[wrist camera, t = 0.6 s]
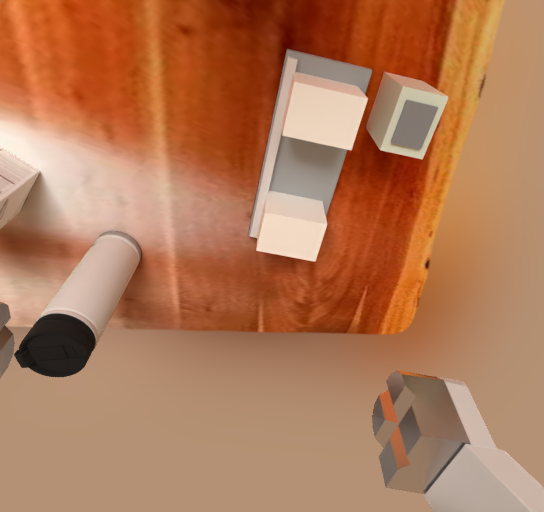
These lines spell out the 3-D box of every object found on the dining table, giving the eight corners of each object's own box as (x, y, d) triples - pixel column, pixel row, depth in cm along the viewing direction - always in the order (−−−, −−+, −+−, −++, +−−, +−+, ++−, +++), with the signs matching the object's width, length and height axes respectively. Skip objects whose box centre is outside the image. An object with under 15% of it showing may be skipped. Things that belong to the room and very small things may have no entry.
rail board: (286, 48, 43) (288, 58, 36) (369, 68, 44) (385, 81, 37) (249, 230, 54) (244, 261, 48) (315, 242, 55) (319, 275, 49)
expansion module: (384, 71, 44) (404, 87, 37) (423, 81, 44) (450, 98, 37) (365, 127, 47) (380, 151, 40) (402, 135, 47) (423, 160, 40)
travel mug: (86, 231, 55) (1, 338, 38) (135, 228, 55) (70, 334, 38) (101, 270, 58) (28, 383, 41) (146, 267, 58) (92, 380, 41)
